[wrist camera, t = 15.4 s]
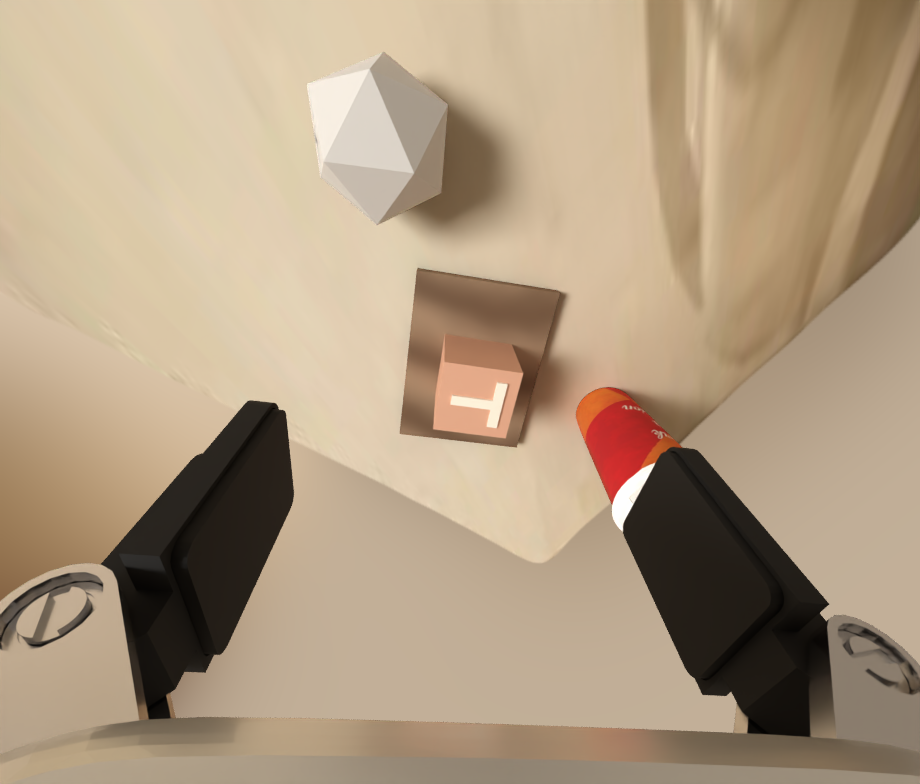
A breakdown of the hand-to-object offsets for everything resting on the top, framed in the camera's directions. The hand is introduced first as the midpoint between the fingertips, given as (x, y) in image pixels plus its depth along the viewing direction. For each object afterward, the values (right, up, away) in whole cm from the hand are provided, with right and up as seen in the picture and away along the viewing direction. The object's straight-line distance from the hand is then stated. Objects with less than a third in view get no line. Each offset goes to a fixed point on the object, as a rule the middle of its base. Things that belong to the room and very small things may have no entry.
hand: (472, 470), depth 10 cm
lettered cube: (+1, +4, +25) cm, 26 cm away
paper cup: (+14, 0, +29) cm, 33 cm away
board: (+1, +5, +26) cm, 27 cm away
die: (-5, +20, +18) cm, 27 cm away
